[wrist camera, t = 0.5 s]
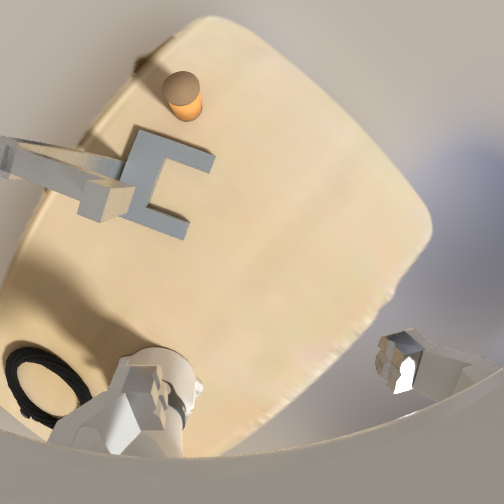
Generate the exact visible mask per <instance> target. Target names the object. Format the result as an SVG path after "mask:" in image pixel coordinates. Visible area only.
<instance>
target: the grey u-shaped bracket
mask: <svg viewBox="0 0 504 504" xmlns="http://www.w3.org/2000/svg"><path fill="white" fill-rule="evenodd" d="M166 158H168V159H171V160H174V161H177V162H179V163H182V164H185V165H188V166H190V167H193V168H196V169H199V170H201V171H204V172H206V173H209V172H210V170H211V168H212V165H213V163H214V160H215V158H216V156H214V155H211V154H208V153H206V152H203V151H200V150H198V149H195V148H192V147H189V146H187V145H184V144H181V143H178V142H175V141H172V140H170V139H167V138H164V137H161V136H158V135H155V134H152V133H149V132H146V131H143V130H139V132H138V134H137V136H136V139H135V141H134V144H133V146H132V149H131V151H130V154H129V157H128V159H127V162H126V165H125V167H124V170H123V173H122V176H121V178H120V181H121V182H124V183H127V184H130V185H132V186H135V187H136V188H135V191H134V194H133V196H132V199H131V202H130V205H129V208H128V212H127V213H125V214H122V215H120V216H119V217H122V218H125V219H127V220H130V221H133V222H135V223H138V224H141V225H143V226H146V227H149V228H151V229H154V230H157V231H159V232H162V233H165V234H167V235H170V236H173V237H175V238H178V239H181V240H184V238H185V235H186V232H187V229H188V227H189V224H190V222H188V221H186V220H183V219H180V218H177V217H175V216H172V215H169V214H167V213H164V212H161V211H159V210H156V209H153V208H151V207H148V205H149V202H150V199H151V196H152V194H153V191H154V188H155V185H156V183H157V180H158V177H159V175H160V172H161V170H162V167H163V165H164V162H165V160H166Z"/></svg>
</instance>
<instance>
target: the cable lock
mask: <svg viewBox="0 0 504 504" xmlns="http://www.w3.org/2000/svg"><path fill="white" fill-rule="evenodd" d="M24 362H32V363H37V364H41V365H43V366H44V367H46V368H48V369H49V370H51V371H52V372H54V373H56V374H57V375H59V376H60V377H61V378H62V379H63V380H64V381H65V382H66V383H67V384H68V385H69V386H70V387H71V388H72V389H73V391H74V392H75V394H76V395H77V397H78V398H79V400H80V403H81V406H82V405H83V404H85V403H86V402H88V401H90V400H91V399H93V398H92V396H91V394H90V391H89V389H88V388H87V386H86V385H85V384H84V382H83V381H82V380H81V378H80V377H79V376H78V375H77V374H76V373H75V372H74V371H73V370H72V369H71V368H70V367H69V366H67V365H66V364H65V363H64V362H62V361H61V360H59V359H58V358H56V357H55V356H53V355H52V354H50V353H47V352H45V351H42V350H40V349H36V348H29V347H28V348H24V347H23V348H19V349H16V350H15V351H13V352H12V353H11V354H10V355H9V357H8V359H7V360H6V368H5V370H6V378H7V382H8V386H9V388H10V390H11V391H12V393H13V395H14V397H15V399H16V400H17V403H18V405H19V406H20V408H21V409H20V411H21V414H22V415H23V416H24V417H25V418H28V419H29V418H30V417H32V419H33V420H34V419H35V421H37V422H40V423H42V424H43V425H45V426H47V427H49V428H51V429H54V427H55V425H56V423H57V421H58V419H55V418H53V417H51V416H49V415H47V414H46V413H44V412H42V411H41V410H40V409H38V408H37V407H36V406H35V405H34V404H33V403H32V402H31V401H30V400H29V399H28V398H27V396H26V395H25V393H24V392H23V390H22V389H21V387H20V384H19V381H18V377H17V368H18V367H19V365H20V364H22V363H24Z"/></svg>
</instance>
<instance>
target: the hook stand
mask: <svg viewBox="0 0 504 504" xmlns="http://www.w3.org/2000/svg"><path fill="white" fill-rule="evenodd" d="M125 165H126V162H124V161H121V160H118V159H115V158H112V157H108V156H104V155H99V154H95V153H90V152H86V151H81V150H76V149H71V148H66V147H61V146H56V145H51V144H46V143H41V142H35V141H29V140H23V139H18V138H12V137H6V136H0V176H1V177H3V178H6V179H8V180H14V179H25V180H28V181H30V182H33V183H36V184H38V185H40V186H43V187H46V188H48V189H51V190H53V191H56V192H58V193H61V194H64V195H66V196H69V197H71V198H74V199H76V200H79V201H80V205H79V208H78V212H77V214H78V215H81V216H83V217H86V218H88V219H91V220H93V221H96V222H98V223H102V222H104V221H107V220H109V219H112V218H115V217H117V216H120V215H122V214H125V213H127V212H128V208H129V205H130V202H131V199H132V196H133V194H134V191H135V188H136V187H135V186H132V185H130V184H127V183H124V182H121V181H118V180H116V179H113V178H121V176H122V173H123V170H124V167H125Z"/></svg>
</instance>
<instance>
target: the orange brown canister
mask: <svg viewBox="0 0 504 504" xmlns="http://www.w3.org/2000/svg"><path fill="white" fill-rule="evenodd" d="M163 94H164V96H165V98H166V100H167V102H168V103H169V105H170V107H171V109H172V111H173V113H174V114H175V116H176V117H177V118H178V119H179V120H181V121H185V122H188V121H192V120H195V119H196V118H197V117H198V116H199V115H200V113H201V111H202V102H201V94H200V86H199V81H198V79H197V77H196V76H195V75H193V74H192V73H190V72H186V71H180V72H176V73H174V74H172V75H170V76H169V77H168V78H167V79H166V80H165V82H164V85H163Z"/></svg>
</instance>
